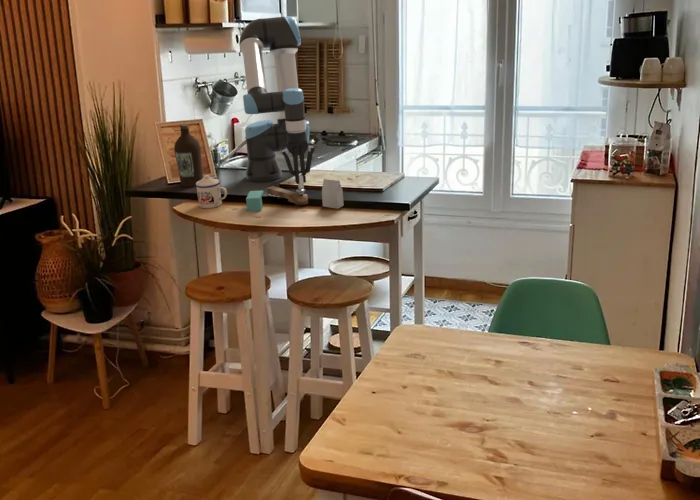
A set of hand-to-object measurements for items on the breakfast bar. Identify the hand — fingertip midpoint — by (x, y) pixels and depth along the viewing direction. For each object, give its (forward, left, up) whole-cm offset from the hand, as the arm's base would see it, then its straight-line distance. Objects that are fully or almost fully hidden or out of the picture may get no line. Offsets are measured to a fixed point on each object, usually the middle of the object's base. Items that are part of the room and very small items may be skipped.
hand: (301, 191), depth 289 cm
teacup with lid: (+7, -33, -2) cm, 34 cm away
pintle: (+11, +1, +2) cm, 11 cm away
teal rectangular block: (+13, -16, -2) cm, 21 cm away
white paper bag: (+15, +13, -2) cm, 20 cm away
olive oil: (-24, -49, -2) cm, 55 cm away
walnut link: (+5, -5, -1) cm, 7 cm away
